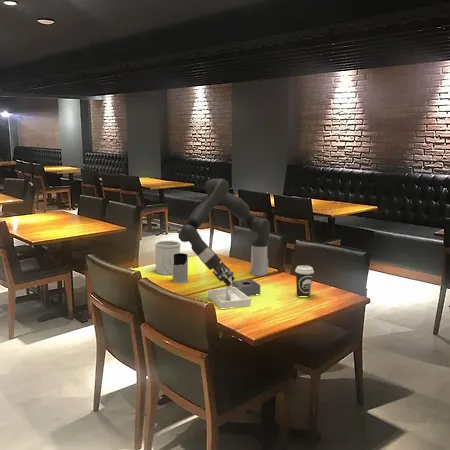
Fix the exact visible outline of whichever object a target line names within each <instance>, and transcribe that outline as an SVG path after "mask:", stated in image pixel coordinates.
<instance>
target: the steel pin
mask: <svg viewBox="0 0 450 450" xmlns="http://www.w3.org/2000/svg"><path fill="white" fill-rule="evenodd" d="M226 275H227V276H226ZM225 276H226V278H227V279H228V280H229V281H230V282H231V283H232V276H234V271H231V270H230V271H228V272H225ZM225 285H226V284H225ZM231 287H232V284H231V285H230V286H227V285H226V287H225V288H226V300H227V301H230V300H231Z"/></svg>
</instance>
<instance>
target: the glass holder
mask: <svg viewBox="0 0 450 450" xmlns="http://www.w3.org/2000/svg"><path fill="white" fill-rule="evenodd" d="M165 258H169V257H165ZM165 258H164V259H165ZM164 259H163V260H164ZM169 259H170V258H169ZM188 261H189V260H188V254H187V253H183V252H182V253H181V252H180V253H177V254H174V264H171V260H170V264H171V265H173V274H170V273H169V272H168V271H167V270H166V269H165V267H164V264H163V267H164V269H165V270H166V271H167V272H168V273H169V274H170V275H169V276H172V282H173V283H174V284H180V285H182V284H187V283H189V279H188V277H189V276H188V274H189V273H188V270H189V266H188V265H189V262H188Z"/></svg>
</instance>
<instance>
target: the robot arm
mask: <svg viewBox="0 0 450 450" xmlns="http://www.w3.org/2000/svg"><path fill="white" fill-rule="evenodd" d="M229 187H230V186H229V182H228V181H227V179H224V178H211V179H208V180H207V181H206V182H205V184H204V189H205V191H206V193H207V195H209V196H208V197H207V198H206V199H205V200H203V201H202V202H201V203H200V204H199V205H197V206H196V207H195V208H194V209H193V211H192V212H191V213H190V216H189V217H188V219H187V220H186V222H185V223H184V224H183V226H182V227H181V228H180V230H179V231H178V239H179V241H180V242H182V243H190V245H191V247H190V248H191V250H192V251H193V253H195V255H196V256H197V257H198V258H199V260H200V261H201V262H202V263H203V264H204V265H205V266H206V268H207V269H208V270H210V271H211V270H213V271H212V274H213V276H215V277H216V278H217V279H218V281H219V282H223V283H224V284H225V285H227V286H230V285H231V286H232V281H235V280H236V278H235V276H234V275H232V281H231V282H230V281H229V280H228V279H227V275H225V272H228V271H230V272H231V269H230V268H229V267H228V266H227V265H226V263H224V262H223V261H222V259H221V258H220V257H219V256H218V255H217V253H216V252H215V251H214V250H213V249H212V248H211V247H210V246H208V244H207V243H206V242H205V241H204V240H203V239H202V236H201V235H200V233H199V231H198V229H199V227H201V226H202V224H203V223H204V221H205V219H206V218H207V217H208V215H209V214H210V213H211V212H212V210H213V209H214V208H215V207H216V206H217V205H218V204H219V203H220V204H221V205H222V206H223V207H224V208H226V209H227V210H228V211H229V212H230V213H231V214H232V215H234V216H235V217H236V218H237V219H239V220H240V221H241V222H242V223H243V224H244V225H245V226H246V227H247V228H248V230H250V232H252V233H254V234H257V238H253V239H252V240H251V248H250V249H251V251H250V252H251V253H250V255H251V256H250V275H253V276H257V277H261V276H266V275H268V274H269V258H268V244H269V240H270V233H271V232H270V230H271V223H270V220H269V219H267V218H262V217H258V216H256V215H255V214H253V213H251V211H250V207H249V205H248V204H247V203H246V202H245V201H244V200H243V199H242V198H241V197H239V196H237V195H235V194H233V193H230V192H229ZM220 262H221V263H220Z"/></svg>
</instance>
